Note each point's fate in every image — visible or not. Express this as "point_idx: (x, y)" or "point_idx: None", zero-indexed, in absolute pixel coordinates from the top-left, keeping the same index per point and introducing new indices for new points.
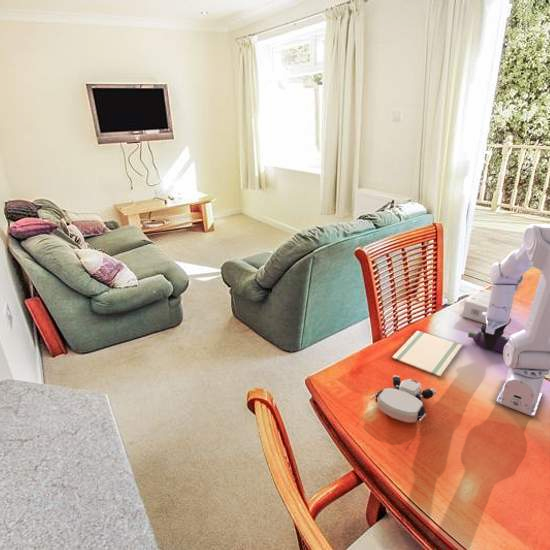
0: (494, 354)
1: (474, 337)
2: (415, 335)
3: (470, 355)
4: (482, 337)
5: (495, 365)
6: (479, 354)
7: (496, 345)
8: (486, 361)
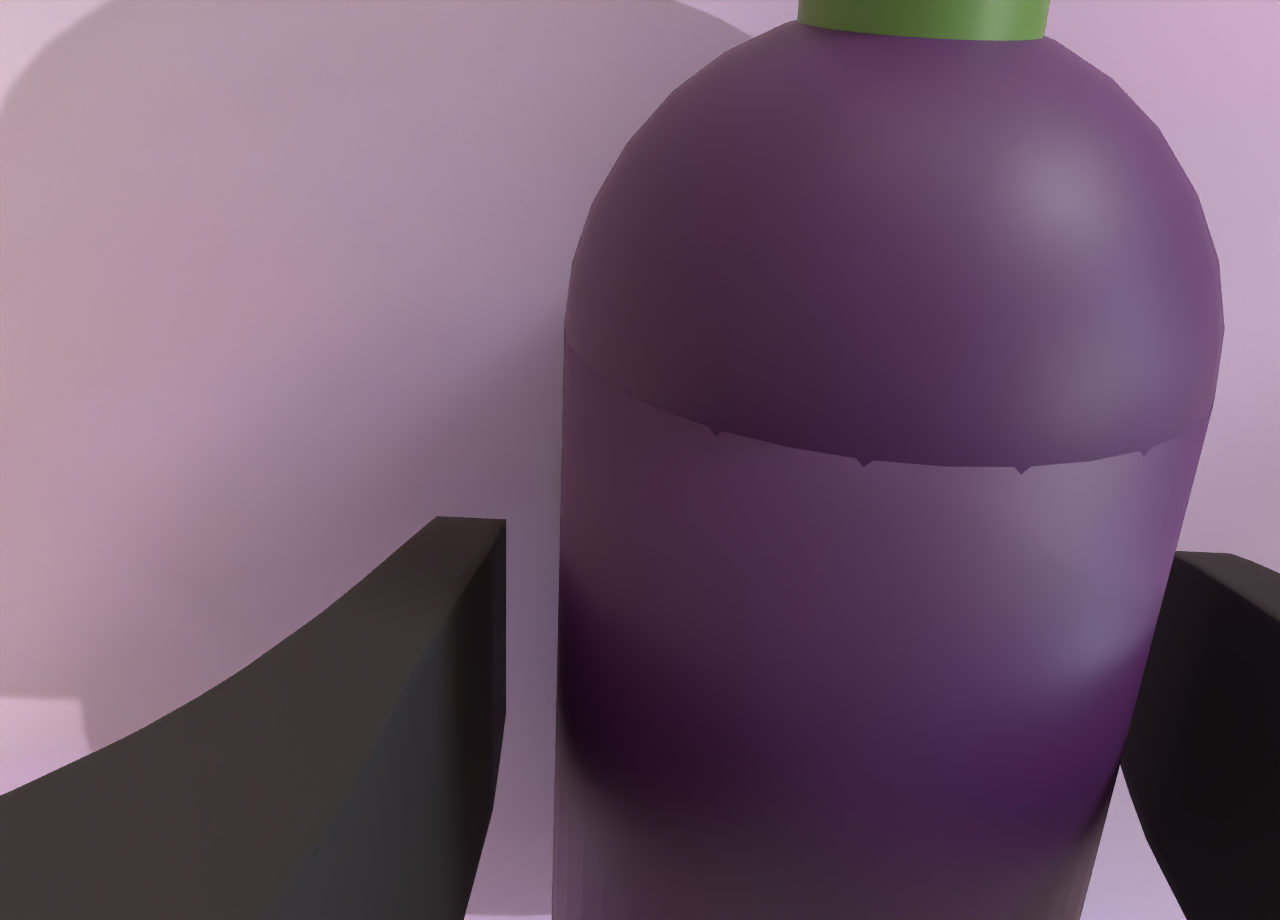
0: (528, 662)
1: (680, 110)
2: None
3: (22, 144)
4: (626, 473)
5: (57, 758)
6: (267, 354)
7: (560, 847)
8: (64, 571)
